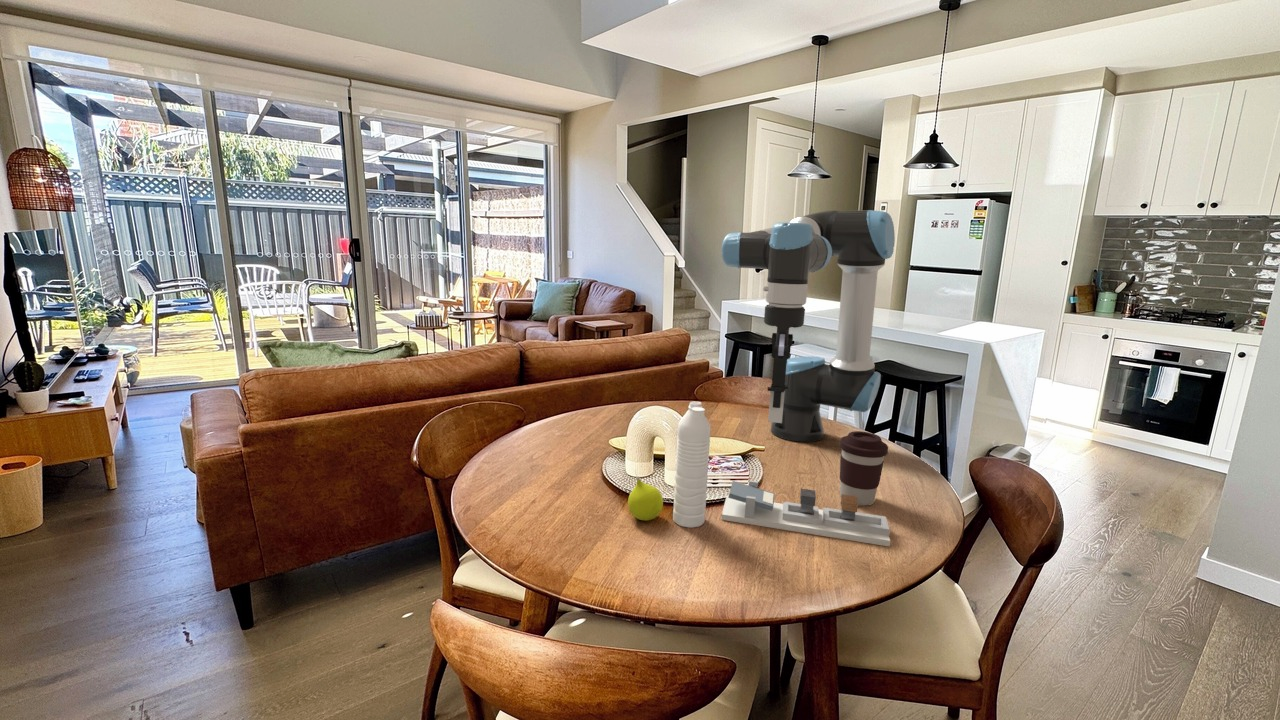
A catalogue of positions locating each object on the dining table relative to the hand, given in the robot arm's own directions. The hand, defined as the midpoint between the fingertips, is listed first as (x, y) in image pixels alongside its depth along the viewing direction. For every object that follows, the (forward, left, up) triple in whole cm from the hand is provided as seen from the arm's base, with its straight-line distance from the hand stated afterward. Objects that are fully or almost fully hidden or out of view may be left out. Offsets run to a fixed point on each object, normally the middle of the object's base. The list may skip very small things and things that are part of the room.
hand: (775, 421), depth 113 cm
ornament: (+10, -24, -21) cm, 33 cm away
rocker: (+1, -3, -16) cm, 17 cm away
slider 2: (+1, +16, -19) cm, 25 cm away
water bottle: (+9, -15, -21) cm, 27 cm away
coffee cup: (-14, +19, -21) cm, 32 cm away
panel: (+1, +7, -21) cm, 22 cm away
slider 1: (+1, +8, -19) cm, 21 cm away
